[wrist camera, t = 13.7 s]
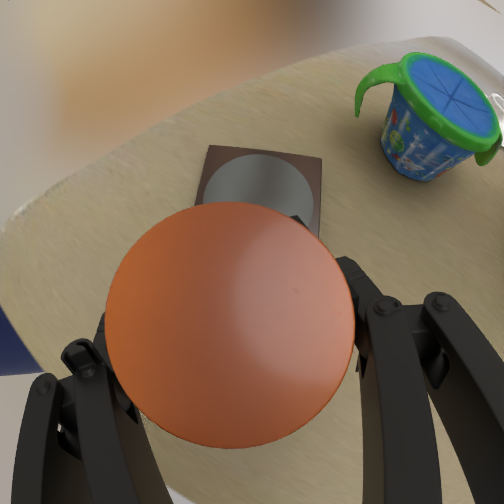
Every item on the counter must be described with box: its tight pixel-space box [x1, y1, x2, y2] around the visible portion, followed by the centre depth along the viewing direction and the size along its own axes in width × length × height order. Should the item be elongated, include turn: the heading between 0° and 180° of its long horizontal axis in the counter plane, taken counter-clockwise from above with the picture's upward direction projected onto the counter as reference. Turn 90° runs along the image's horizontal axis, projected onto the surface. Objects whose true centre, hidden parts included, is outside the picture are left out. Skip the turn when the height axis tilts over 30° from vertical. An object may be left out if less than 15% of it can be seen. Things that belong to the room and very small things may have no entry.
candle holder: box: [485, 93, 504, 147], centre depth 27 cm, size 12×12×4 cm
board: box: [195, 145, 322, 239], centre depth 22 cm, size 10×20×1 cm, turn 173°
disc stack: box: [105, 201, 355, 449], centre depth 13 cm, size 6×6×13 cm
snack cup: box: [355, 52, 503, 182], centre depth 21 cm, size 16×10×10 cm
